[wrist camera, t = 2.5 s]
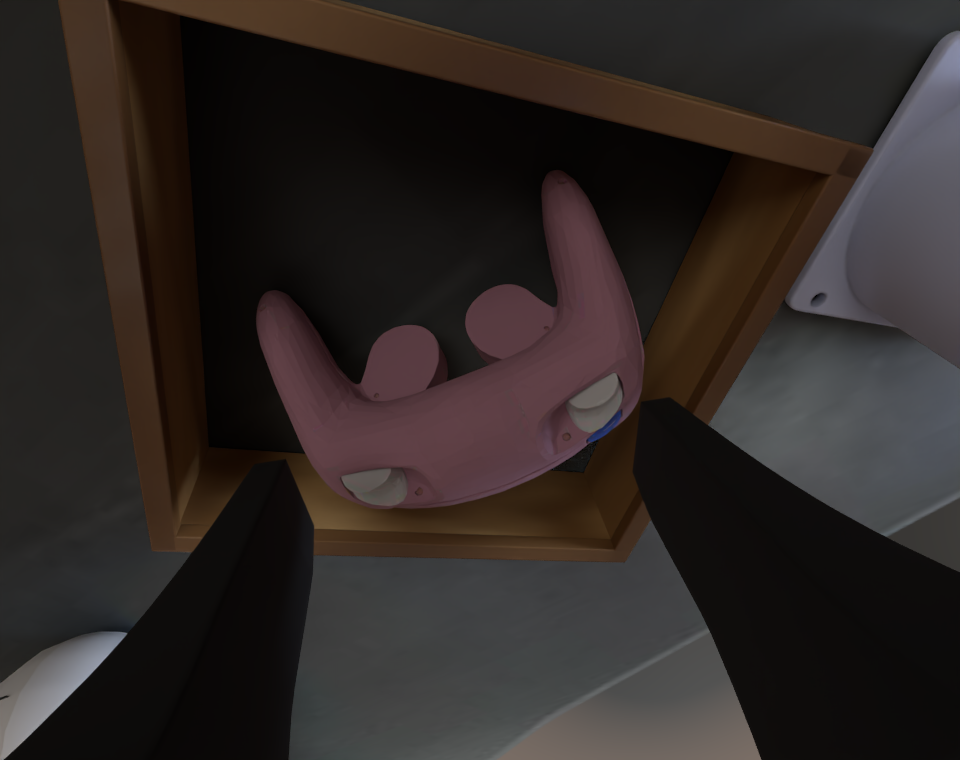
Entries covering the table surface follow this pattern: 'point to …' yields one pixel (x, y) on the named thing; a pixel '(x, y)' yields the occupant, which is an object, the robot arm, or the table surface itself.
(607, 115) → the wooden frame
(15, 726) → the seamed sphere
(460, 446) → the video game controller
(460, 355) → the table surface
